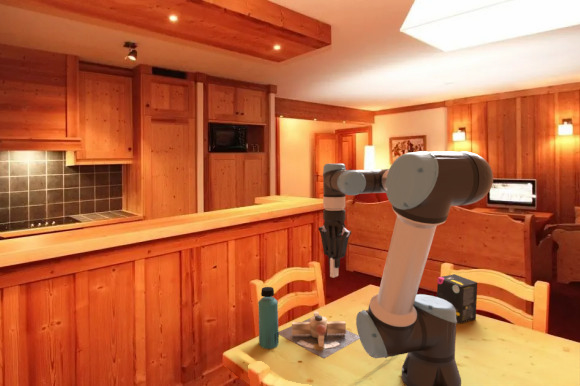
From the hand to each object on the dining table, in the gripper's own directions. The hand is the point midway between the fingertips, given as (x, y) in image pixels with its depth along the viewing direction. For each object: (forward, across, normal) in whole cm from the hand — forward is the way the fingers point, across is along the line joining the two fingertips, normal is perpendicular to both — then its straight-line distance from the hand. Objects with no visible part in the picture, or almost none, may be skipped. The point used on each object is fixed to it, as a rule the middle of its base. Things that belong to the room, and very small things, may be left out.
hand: (334, 276), depth 127 cm
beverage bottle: (+20, +7, +24) cm, 32 cm away
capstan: (+19, 0, +8) cm, 20 cm away
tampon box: (+20, -24, -43) cm, 53 cm away
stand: (+20, 0, +8) cm, 22 cm away
